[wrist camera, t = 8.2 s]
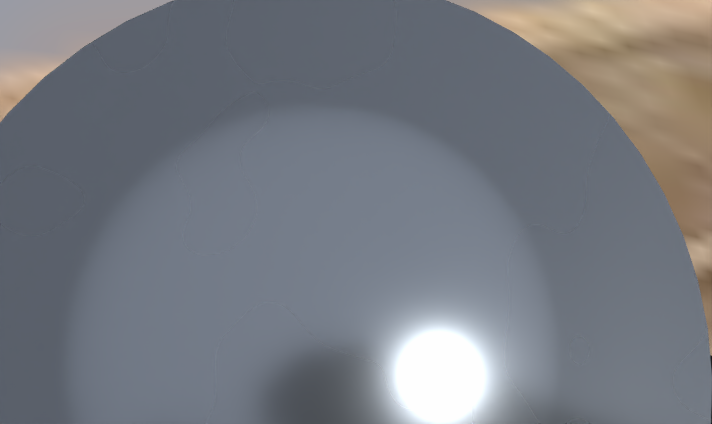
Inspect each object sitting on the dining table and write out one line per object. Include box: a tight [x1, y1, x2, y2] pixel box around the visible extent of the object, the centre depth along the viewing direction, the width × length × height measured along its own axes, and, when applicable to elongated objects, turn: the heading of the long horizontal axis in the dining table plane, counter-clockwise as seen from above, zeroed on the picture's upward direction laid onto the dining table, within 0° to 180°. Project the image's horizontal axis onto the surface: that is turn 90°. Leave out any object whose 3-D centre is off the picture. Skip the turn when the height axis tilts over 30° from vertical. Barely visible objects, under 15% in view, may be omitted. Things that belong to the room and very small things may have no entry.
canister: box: [0, 0, 712, 424], centre depth 10 cm, size 5×5×13 cm
